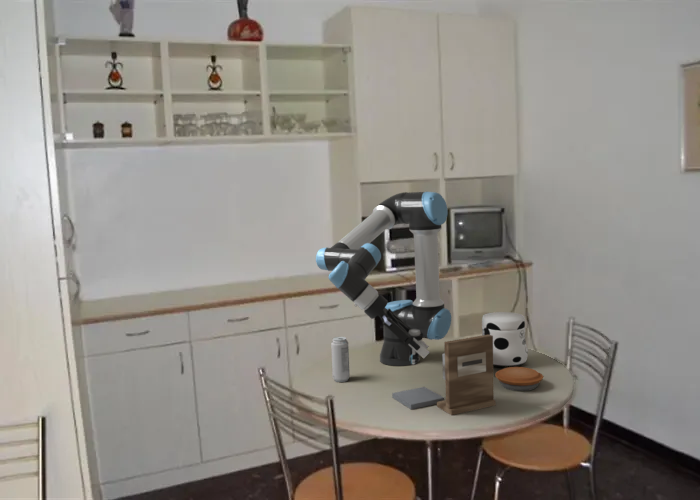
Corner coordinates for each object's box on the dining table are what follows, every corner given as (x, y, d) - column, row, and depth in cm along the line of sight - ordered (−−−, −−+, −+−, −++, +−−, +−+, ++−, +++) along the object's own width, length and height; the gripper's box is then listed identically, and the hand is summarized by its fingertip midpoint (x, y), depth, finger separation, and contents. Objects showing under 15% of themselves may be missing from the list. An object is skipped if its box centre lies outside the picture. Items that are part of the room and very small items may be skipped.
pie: (515, 396, 199) (515, 381, 198) (486, 382, 213) (485, 368, 213) (553, 388, 205) (553, 373, 204) (522, 375, 219) (522, 361, 219)
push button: (421, 366, 192) (421, 335, 190) (404, 365, 193) (403, 334, 191) (424, 358, 198) (423, 328, 196) (407, 358, 200) (407, 327, 198)
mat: (392, 397, 202) (392, 393, 202) (424, 391, 207) (424, 386, 207) (411, 409, 191) (410, 404, 191) (444, 402, 196) (444, 397, 196)
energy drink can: (339, 376, 226) (337, 335, 224) (353, 378, 222) (351, 337, 221) (329, 381, 221) (327, 339, 219) (343, 383, 218) (341, 341, 216)
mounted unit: (434, 405, 194) (432, 337, 192) (477, 395, 200) (475, 330, 198) (451, 415, 185) (450, 344, 183) (495, 405, 192) (494, 336, 189)
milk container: (537, 364, 231) (537, 316, 229) (505, 373, 222) (505, 323, 220) (502, 354, 245) (501, 309, 243) (470, 363, 236) (469, 316, 234)
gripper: (364, 304, 204) (417, 352, 205) (361, 317, 186) (418, 370, 187) (380, 287, 203) (432, 335, 204) (378, 299, 185) (436, 352, 186)
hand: (426, 352), depth 195 cm, fingers closed on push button, 5 cm apart
